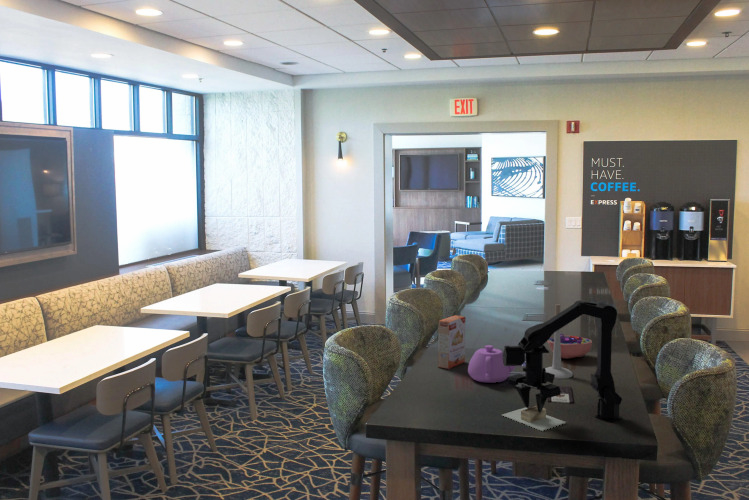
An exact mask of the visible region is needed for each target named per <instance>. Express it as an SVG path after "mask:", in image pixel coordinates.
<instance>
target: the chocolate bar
mask: <svg viewBox="0 0 749 500" xmlns="http://www.w3.org/2000/svg"><path fill="white" fill-rule="evenodd" d="M558 386H559V385H558ZM559 387H560V389H561V395H557V396H554V397H551V398H547V402H548V403H555V402H556V403H557V404H574V398H573V392H572V391H573V389H572V386H562V385H560V386H559Z"/></svg>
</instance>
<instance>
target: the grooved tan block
mask: <svg viewBox="0 0 749 500" xmlns="http://www.w3.org/2000/svg"><path fill="white" fill-rule="evenodd" d="M546 415H547V408H545V407H543V409H542V412H538V408H537V405H535V406H532V407H528V409H525V410H522V411H521V419H522V420H524V421H527V422H533V421H536V420H539V419H542V418H546Z"/></svg>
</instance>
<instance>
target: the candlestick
mask: <svg viewBox="0 0 749 500" xmlns="http://www.w3.org/2000/svg"><path fill="white" fill-rule="evenodd" d="M554 307H555V309H554V310H555V311H554V316H556V315H557V314H559V313H560V312H561V304H560V303H556V304H554ZM560 334H561V329H559V330H558V331H556V332H555V333H554V336H553V337H554V351H552V366H548V367H544V368H545V369H546V372H548V373H551V374H554V375H555V377H554V380H555V379H556V380H557V379H558V380H561V379H563V380H564V379H570V378H572V377H573V372H572V371H571V370H569V368H565V367H562V358H561V346H560Z"/></svg>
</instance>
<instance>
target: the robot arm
mask: <svg viewBox="0 0 749 500" xmlns="http://www.w3.org/2000/svg"><path fill="white" fill-rule="evenodd" d="M583 315H586V316H588V317H589V316H590V317H593V318H594V321H595V325H596V327H597V351H596V352H597V353H596V354H597V356H596V371H595V373H591V374H590V383H589V385H590V386H591V388H592V390H593V391H594V392H595V393H596V394H597V397H599V398H598V402H597V407H596V408H597V409H596V415H595V416H594V417H595V418H597V419H600V420H603V421H605V422H610V423H613V422H615V421H618V420H621V419H622V418H623V416H622V415H621V416H620V405H621V403H622V401H623V398H622V397H621V396H620V395H619V394H618V393H617V392H616V387H615V386H616V385H615V380H614V377H613V375H612V343H613V339H612V338H613V329H614V328H615V326H616V322H617V318H618V311H617V309H616V308H615V307H614V306H613V305H611V304H608V303H607V302H603V301H602V302H598V303H595V302H590V301H582V300H576V301H575V302H574V303H573V304H572V305H570V306H568V307H566V308H565V309H564V310H561V311H560V313H559V314H557V315H556V316H555V315H554V316H553V317H552V318H550V319H549V320H547V321H545V322H542V323H538V324H535V325H533V326H530V327H528V328H527V329H526V330H524V334H523V337H522V338H521V340H520V341H519V342H518V344H517V345H504V348H503V351H502V352H503V364H504V366H517V367H522V365H524V364H525V367H523V368H522V371H523V372H525V373H524V374H525V375H523V374H521V373H517V374H513V375H509V377H508V378H507V379H508V380H507V382H508V383H507V384H508V385H510V386H512V387H514V389H515V390H516V391H517V393H518V395H519V396H520V398H521V401H522V403H523V405H524V408H525V407H526V408H530V407H529V406H530V394H531V393H530V391H531V389H535V390H539V393H536V394H535V400H536V401H535V402H536V406H537V408H538V412H542V409H543V408H545V405H546V404H545V403H546V402H547V401H548V398H551V397H554V396H557V395H561V389H560V387H559V385H556V384H554V380H555V379H554V377H555V375H554V374H551V373H548V372H546V369H545V368H546V367H544V363H543V362H544V361H543V360H544V354H549V353H550V350H548V348H546V346H545V344H546V343H548V342H547V341H548V340H549V339H550V337H553V335H555V332H556V331H558V330H559V329H560V330H561V329H562V328H564V327H565V326H568V324H569V323H570V324H571V323H572V322H573V321H575V320H576V319H578V318H579V317H581V316H583ZM547 382H548V383H550V384H547ZM543 384H544V385H543Z"/></svg>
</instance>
